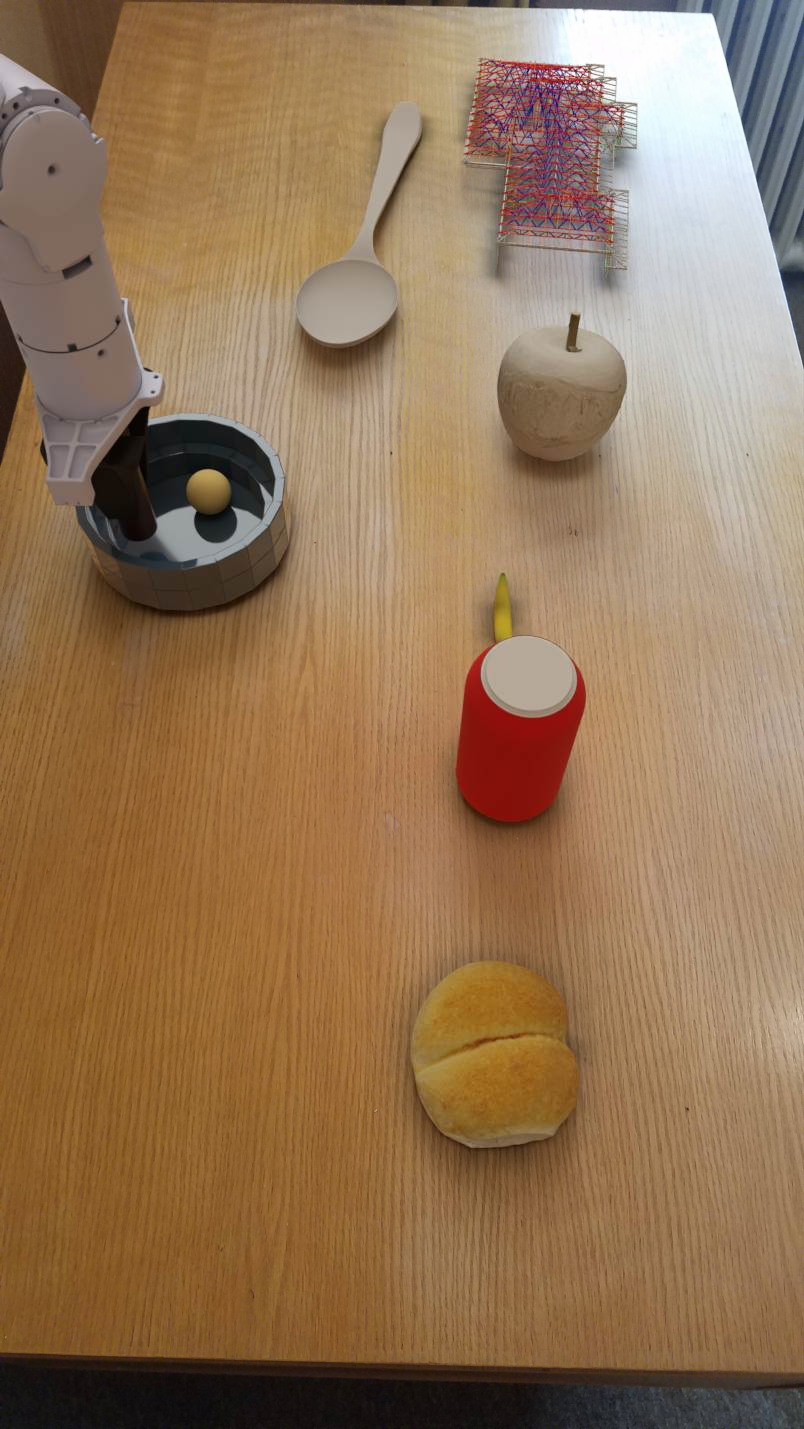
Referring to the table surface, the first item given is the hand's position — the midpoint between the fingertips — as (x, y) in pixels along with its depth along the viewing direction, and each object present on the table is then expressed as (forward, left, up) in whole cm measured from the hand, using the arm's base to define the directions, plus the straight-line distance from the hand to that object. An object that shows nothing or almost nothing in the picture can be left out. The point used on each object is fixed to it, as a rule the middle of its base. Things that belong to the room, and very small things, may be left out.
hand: (127, 497), depth 64 cm
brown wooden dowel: (0, 0, -3) cm, 3 cm away
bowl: (+3, +2, -6) cm, 7 cm away
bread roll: (+23, -32, -6) cm, 40 cm away
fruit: (+24, -5, -6) cm, 25 cm away
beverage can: (+24, -16, -6) cm, 30 cm away
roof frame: (+29, +44, -6) cm, 53 cm away
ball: (+4, +4, -3) cm, 6 cm away
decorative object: (+28, +12, -6) cm, 31 cm away
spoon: (+14, +36, -6) cm, 39 cm away
